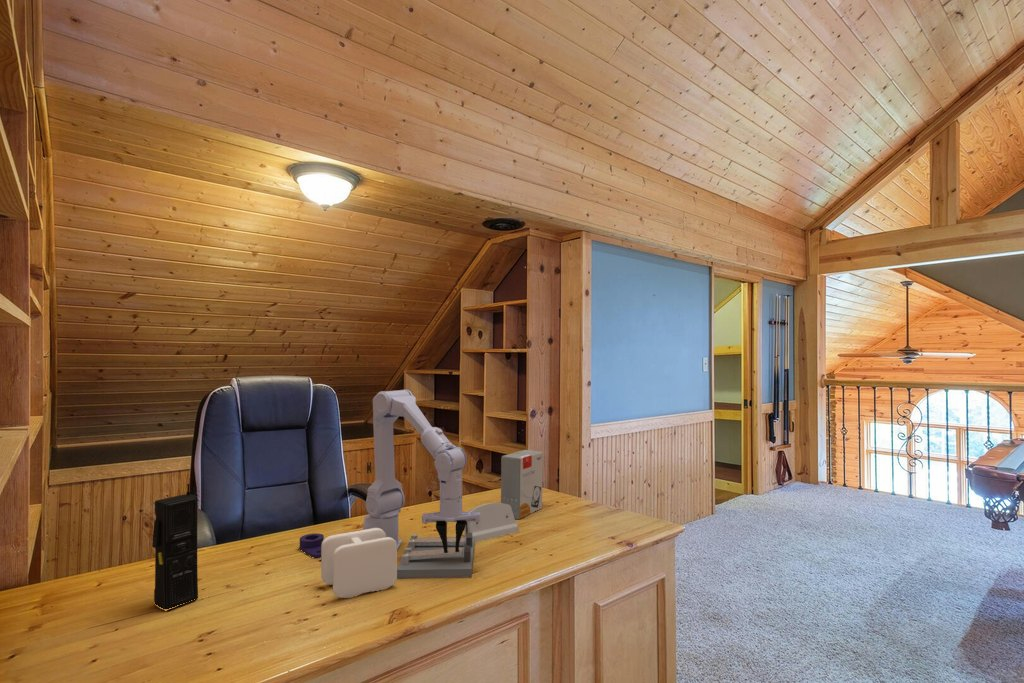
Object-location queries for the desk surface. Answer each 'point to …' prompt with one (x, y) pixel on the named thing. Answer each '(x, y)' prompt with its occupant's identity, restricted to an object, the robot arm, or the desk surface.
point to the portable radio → (175, 550)
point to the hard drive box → (522, 482)
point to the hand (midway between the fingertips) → (451, 550)
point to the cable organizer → (359, 562)
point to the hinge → (492, 521)
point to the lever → (312, 544)
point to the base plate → (437, 562)
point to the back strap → (437, 541)
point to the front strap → (434, 553)
